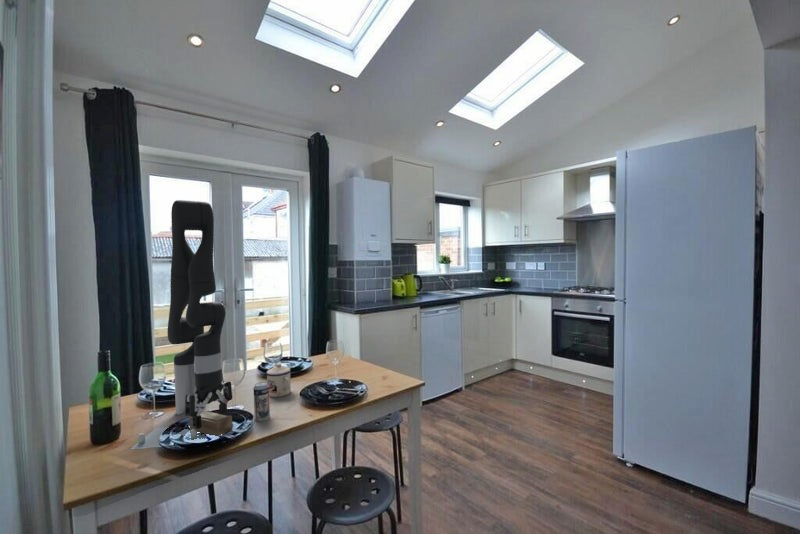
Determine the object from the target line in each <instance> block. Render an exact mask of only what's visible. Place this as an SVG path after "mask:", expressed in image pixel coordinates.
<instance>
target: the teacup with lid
mask: <svg viewBox="0 0 800 534" xmlns="http://www.w3.org/2000/svg"><path fill="white" fill-rule="evenodd" d="M291 372H292V371H291V368H290V367H287V366H284V365H282V364H281V363H276V364H275V365H274V367H272V368H270V369H268V370H267V371H266V380H267V381H266V383H268V385H269V397H271V398H278V397H284V396H286V395H290V394H291V391H292V389H291V388H292V387H291V385H292V384H291V383H292V381H291Z"/></svg>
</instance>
